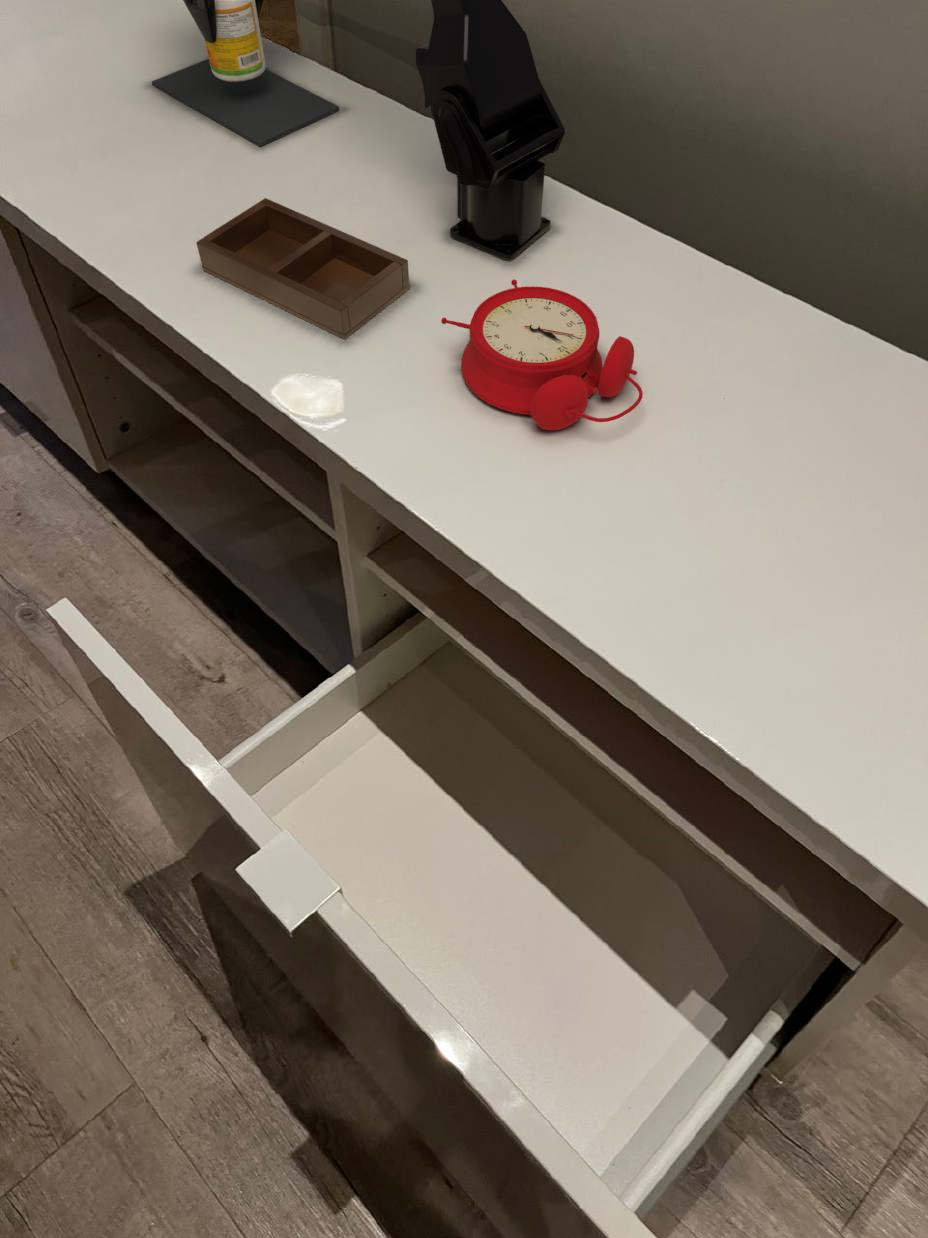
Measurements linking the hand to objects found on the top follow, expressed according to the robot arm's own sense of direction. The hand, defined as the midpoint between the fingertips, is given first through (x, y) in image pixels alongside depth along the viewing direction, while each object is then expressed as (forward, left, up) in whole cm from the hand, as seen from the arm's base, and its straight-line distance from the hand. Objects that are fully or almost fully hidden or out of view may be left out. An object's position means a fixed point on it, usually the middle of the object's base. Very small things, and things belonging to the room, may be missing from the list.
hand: (232, 30), depth 89 cm
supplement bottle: (0, 0, -4) cm, 4 cm away
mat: (0, 0, -6) cm, 6 cm away
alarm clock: (-49, +18, -6) cm, 53 cm away
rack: (-26, +20, -6) cm, 33 cm away
